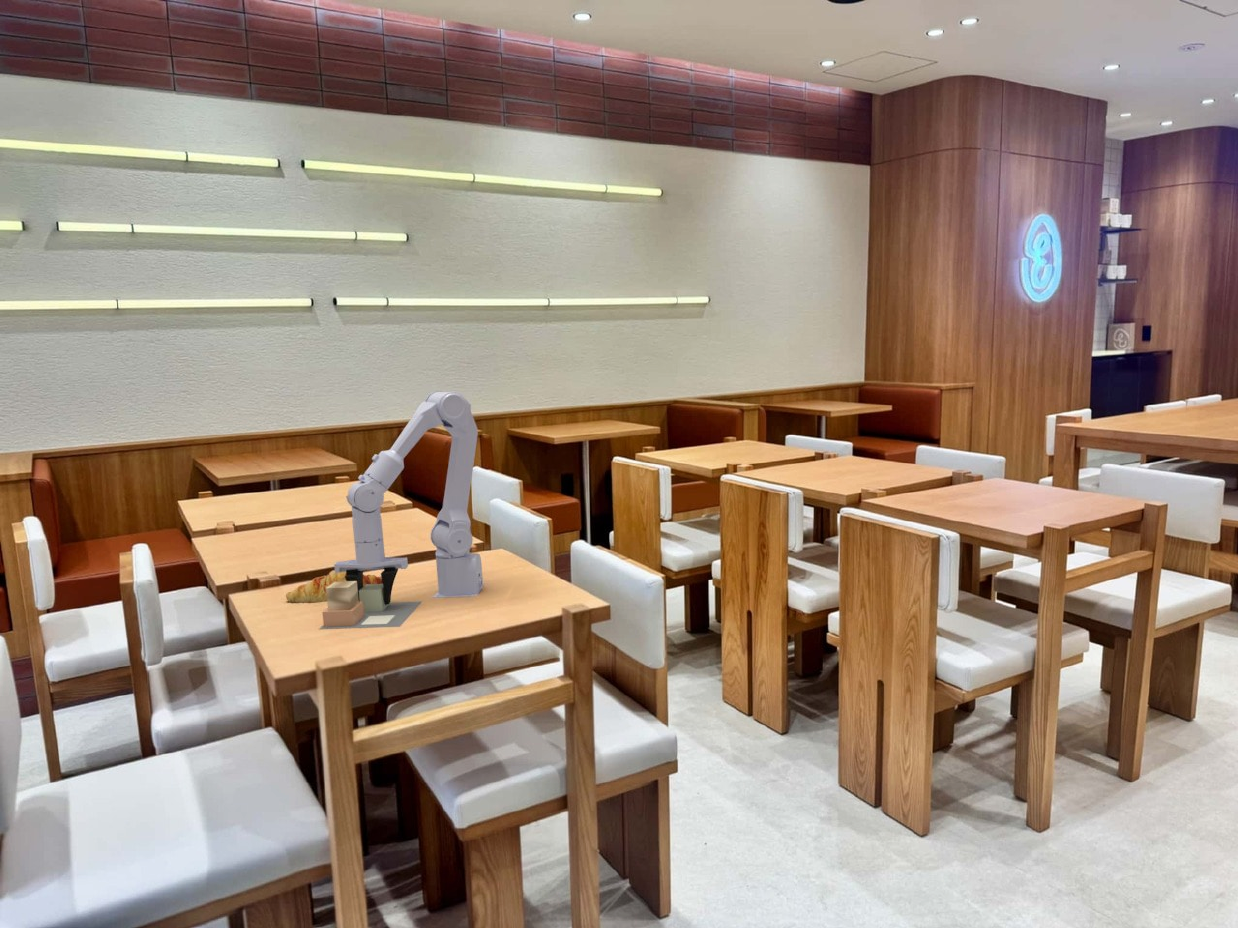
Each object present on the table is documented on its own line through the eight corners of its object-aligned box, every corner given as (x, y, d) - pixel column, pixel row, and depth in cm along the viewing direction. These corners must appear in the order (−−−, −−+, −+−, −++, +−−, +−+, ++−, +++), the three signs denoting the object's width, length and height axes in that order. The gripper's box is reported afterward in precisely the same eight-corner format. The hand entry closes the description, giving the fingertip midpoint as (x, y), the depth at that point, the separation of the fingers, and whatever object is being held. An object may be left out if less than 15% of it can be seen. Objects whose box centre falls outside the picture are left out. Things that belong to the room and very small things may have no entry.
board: (422, 603, 177) (422, 601, 177) (400, 629, 161) (399, 626, 161) (348, 606, 178) (348, 603, 178) (318, 631, 162) (318, 629, 162)
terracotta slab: (364, 615, 169) (363, 601, 168) (354, 625, 163) (352, 610, 163) (335, 616, 169) (334, 602, 169) (323, 626, 163) (322, 611, 163)
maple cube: (358, 602, 168) (356, 580, 167) (350, 609, 163) (348, 587, 163) (336, 603, 168) (334, 581, 167) (328, 610, 164) (325, 588, 163)
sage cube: (389, 604, 176) (387, 583, 175) (382, 611, 172) (380, 589, 171) (368, 605, 176) (366, 584, 176) (360, 611, 172) (358, 590, 171)
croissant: (289, 624, 180) (285, 597, 175) (285, 592, 187) (281, 565, 182) (390, 605, 188) (389, 579, 183) (382, 576, 195) (381, 550, 191)
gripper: (408, 533, 176) (414, 596, 178) (339, 537, 176) (345, 600, 177) (401, 541, 169) (406, 606, 171) (328, 545, 169) (335, 610, 170)
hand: (374, 603), depth 174 cm, fingers closed on sage cube, 5 cm apart
